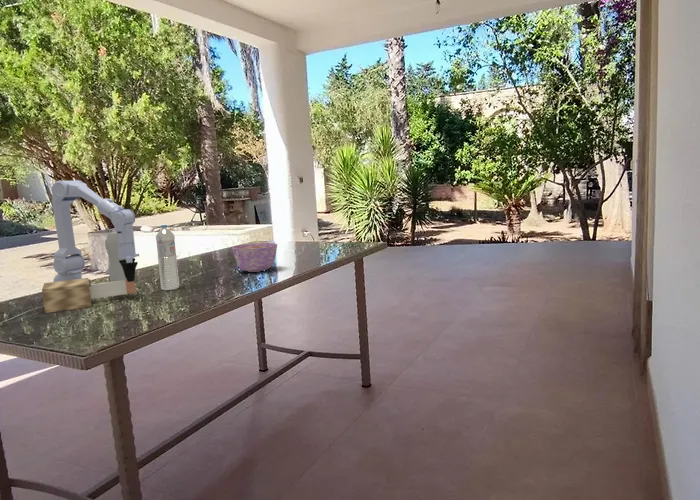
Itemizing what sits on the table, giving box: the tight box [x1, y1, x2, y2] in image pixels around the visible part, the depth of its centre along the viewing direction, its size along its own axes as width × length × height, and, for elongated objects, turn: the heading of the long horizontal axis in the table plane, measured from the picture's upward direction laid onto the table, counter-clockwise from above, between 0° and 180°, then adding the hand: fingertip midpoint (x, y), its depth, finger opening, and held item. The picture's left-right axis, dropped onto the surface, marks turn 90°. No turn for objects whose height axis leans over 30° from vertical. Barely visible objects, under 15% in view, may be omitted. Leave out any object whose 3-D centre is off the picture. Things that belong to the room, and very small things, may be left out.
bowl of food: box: [231, 242, 278, 273], centre depth 233 cm, size 20×20×12 cm
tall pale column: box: [104, 230, 127, 282], centre depth 223 cm, size 11×4×22 cm, turn 86°
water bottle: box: [155, 224, 180, 291], centre depth 202 cm, size 7×7×25 cm
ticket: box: [89, 280, 137, 300], centre depth 188 cm, size 19×1×5 cm, turn 117°
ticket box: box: [41, 277, 93, 314], centre depth 183 cm, size 15×14×8 cm
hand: (129, 279), depth 191 cm, fingers open, 7 cm apart
